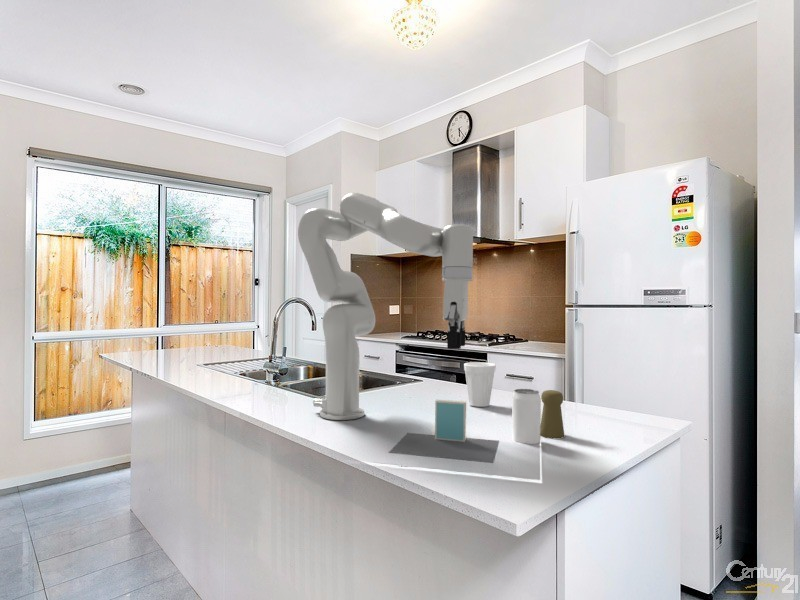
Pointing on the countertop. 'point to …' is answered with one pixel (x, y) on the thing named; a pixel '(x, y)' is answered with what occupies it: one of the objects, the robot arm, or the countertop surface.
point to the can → (526, 416)
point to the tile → (450, 420)
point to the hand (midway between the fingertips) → (456, 346)
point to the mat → (447, 448)
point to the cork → (552, 415)
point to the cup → (479, 382)
